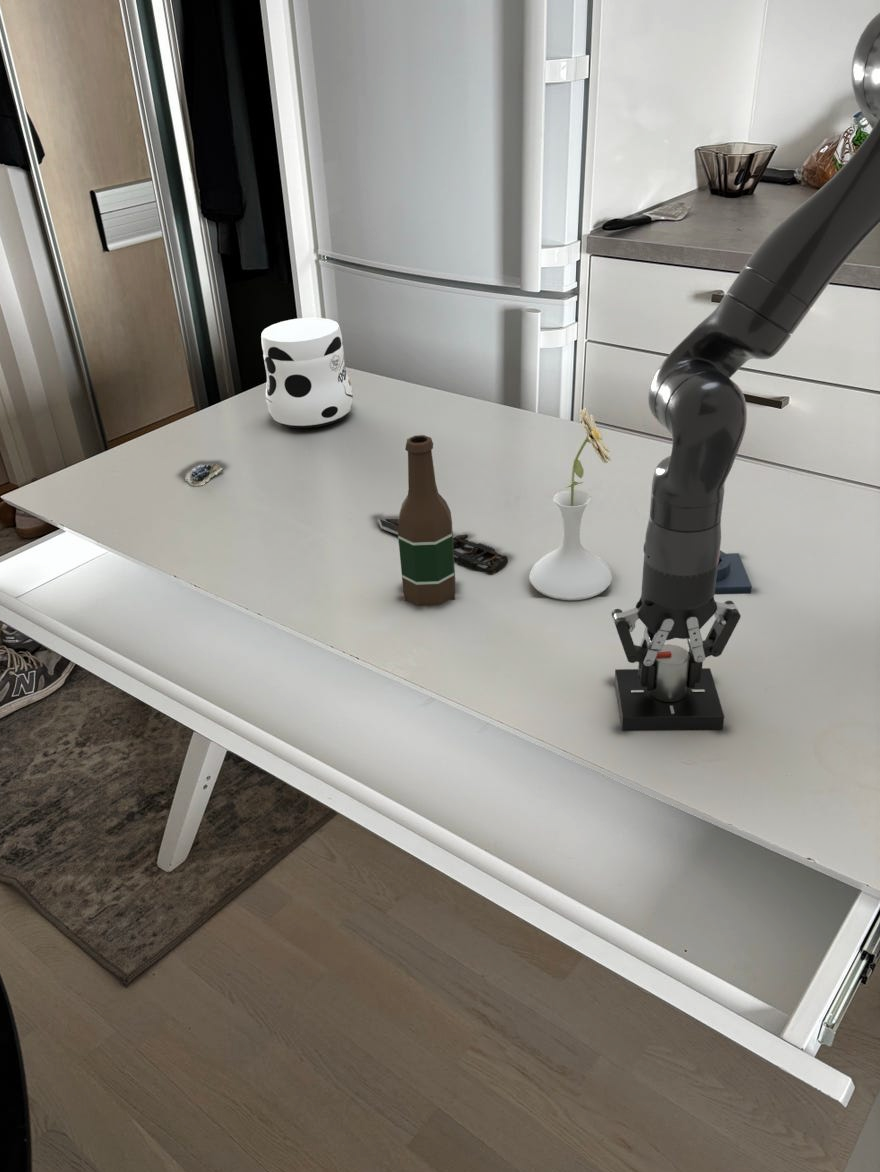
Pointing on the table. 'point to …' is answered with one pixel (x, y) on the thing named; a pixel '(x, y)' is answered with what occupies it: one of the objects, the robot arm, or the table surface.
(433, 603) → the beer bottle
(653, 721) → the hob panel
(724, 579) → the button block
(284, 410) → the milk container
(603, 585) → the flower in vase
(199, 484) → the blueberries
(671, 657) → the hob knob
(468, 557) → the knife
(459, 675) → the table surface
